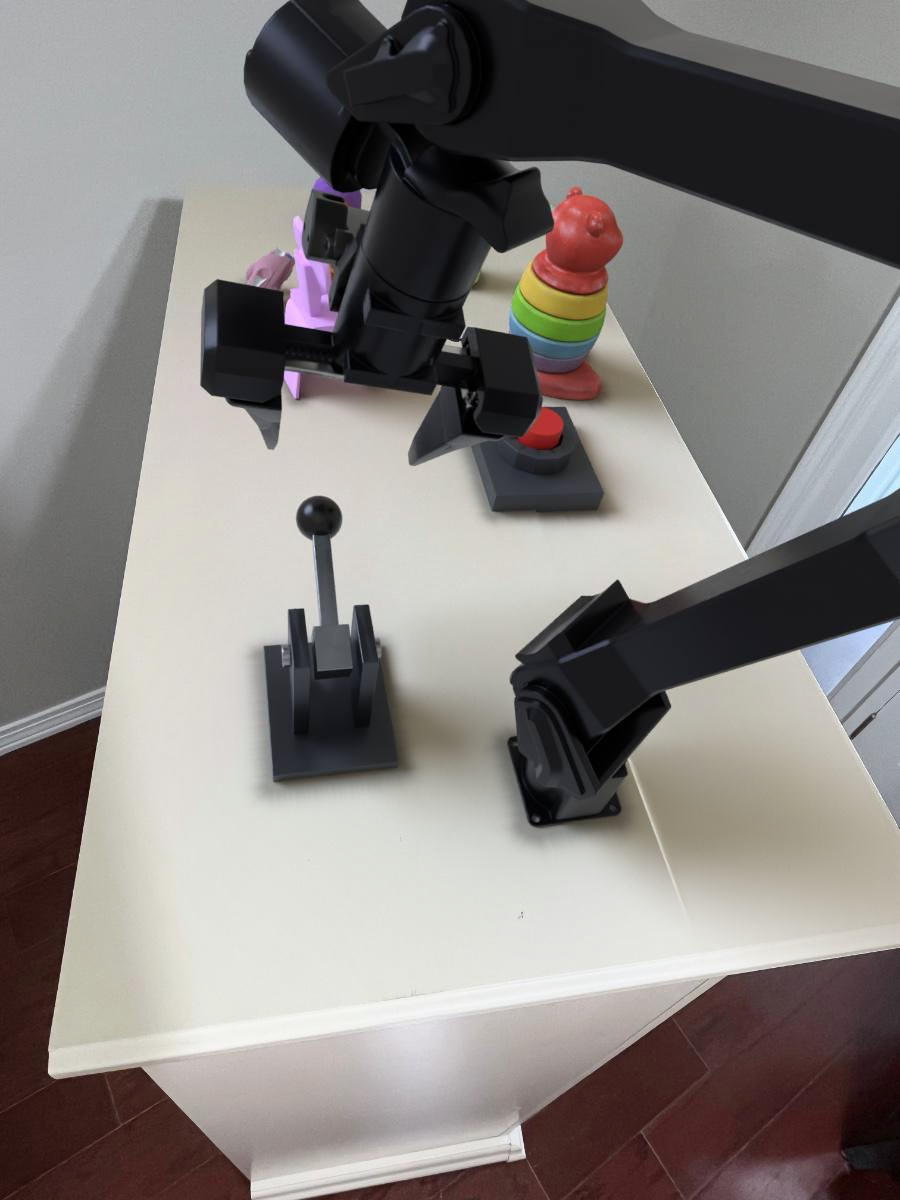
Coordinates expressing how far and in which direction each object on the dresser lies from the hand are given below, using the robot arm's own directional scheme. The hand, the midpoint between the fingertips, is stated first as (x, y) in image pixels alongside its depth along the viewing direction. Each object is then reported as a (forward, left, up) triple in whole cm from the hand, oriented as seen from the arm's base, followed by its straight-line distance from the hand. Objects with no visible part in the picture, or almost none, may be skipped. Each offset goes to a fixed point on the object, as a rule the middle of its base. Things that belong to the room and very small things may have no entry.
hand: (343, 452), depth 51 cm
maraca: (+50, -5, -14) cm, 52 cm away
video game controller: (+38, +4, -14) cm, 41 cm away
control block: (+13, -19, -13) cm, 27 cm away
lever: (-6, +2, -6) cm, 9 cm away
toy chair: (+27, -2, -14) cm, 30 cm away
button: (+13, -19, -10) cm, 25 cm away
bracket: (-11, +2, -13) cm, 18 cm away
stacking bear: (+28, -25, -14) cm, 40 cm away
